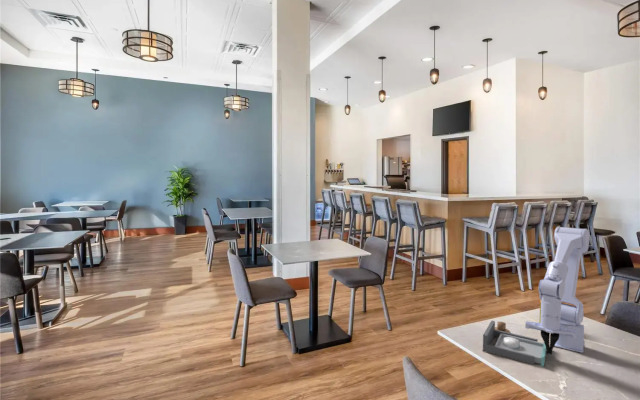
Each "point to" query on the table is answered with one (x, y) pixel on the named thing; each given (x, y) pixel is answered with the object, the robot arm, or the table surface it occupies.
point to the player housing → (515, 355)
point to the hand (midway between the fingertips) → (549, 352)
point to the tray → (526, 348)
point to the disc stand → (501, 327)
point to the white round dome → (511, 343)
